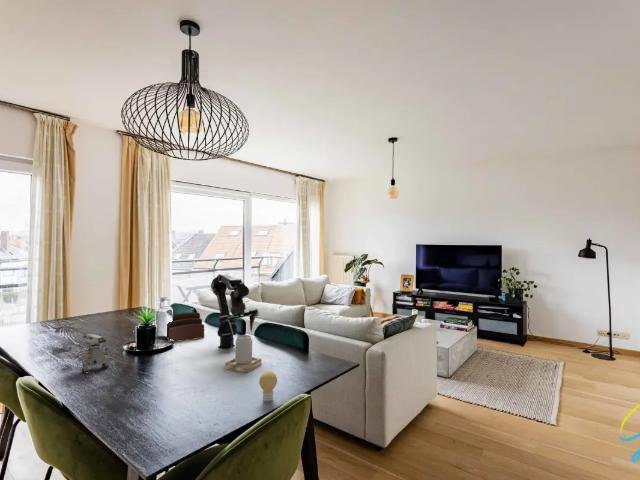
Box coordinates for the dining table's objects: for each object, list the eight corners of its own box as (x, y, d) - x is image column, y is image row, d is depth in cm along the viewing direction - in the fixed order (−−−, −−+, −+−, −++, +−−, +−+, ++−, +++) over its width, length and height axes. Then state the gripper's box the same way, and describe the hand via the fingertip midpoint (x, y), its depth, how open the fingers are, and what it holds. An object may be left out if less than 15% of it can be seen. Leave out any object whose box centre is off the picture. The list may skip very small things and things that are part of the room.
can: (252, 359, 160) (253, 334, 160) (251, 365, 152) (251, 338, 152) (236, 360, 159) (236, 334, 159) (233, 365, 152) (234, 338, 152)
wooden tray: (225, 368, 152) (225, 363, 152) (240, 360, 163) (240, 355, 163) (247, 372, 148) (247, 366, 148) (261, 363, 159) (261, 358, 159)
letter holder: (164, 338, 199) (165, 314, 199) (199, 333, 210) (199, 310, 210) (168, 342, 190) (169, 317, 191) (204, 337, 202) (204, 313, 202)
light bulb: (259, 396, 125) (260, 368, 125) (277, 395, 126) (277, 368, 126) (258, 404, 119) (258, 375, 119) (276, 404, 119) (276, 375, 120)
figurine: (99, 363, 157) (100, 330, 157) (109, 369, 149) (110, 335, 150) (76, 369, 149) (77, 334, 150) (85, 375, 142) (86, 339, 142)
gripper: (214, 303, 163) (218, 335, 158) (253, 294, 166) (258, 326, 160) (220, 307, 174) (223, 338, 168) (256, 299, 176) (261, 329, 170)
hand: (241, 333), depth 166 cm, fingers open, 9 cm apart
